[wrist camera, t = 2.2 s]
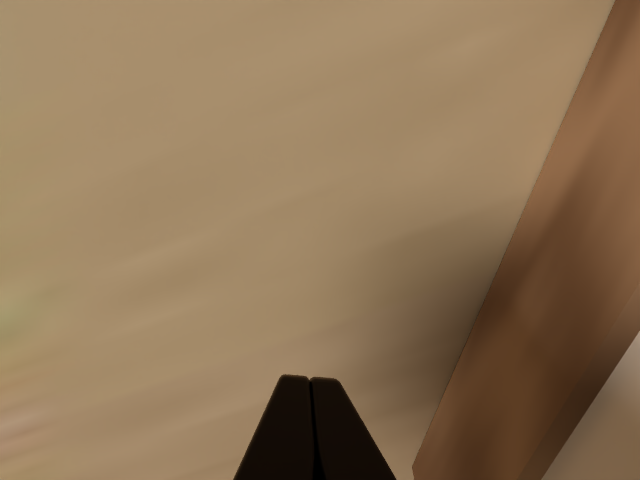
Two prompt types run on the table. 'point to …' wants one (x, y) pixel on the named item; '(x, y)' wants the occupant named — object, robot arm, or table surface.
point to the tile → (606, 430)
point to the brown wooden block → (555, 287)
